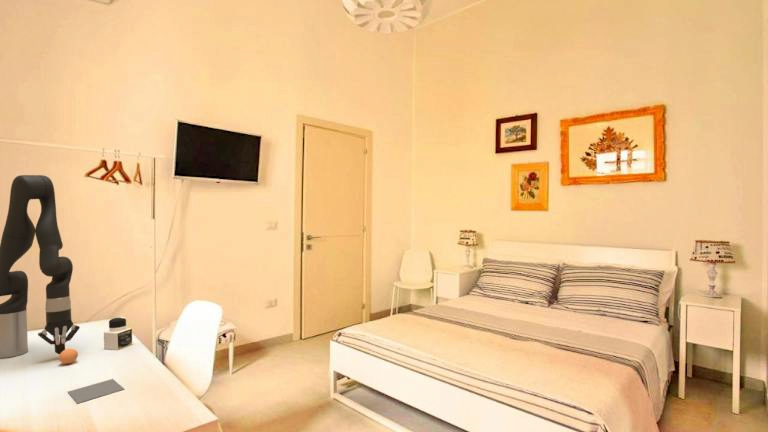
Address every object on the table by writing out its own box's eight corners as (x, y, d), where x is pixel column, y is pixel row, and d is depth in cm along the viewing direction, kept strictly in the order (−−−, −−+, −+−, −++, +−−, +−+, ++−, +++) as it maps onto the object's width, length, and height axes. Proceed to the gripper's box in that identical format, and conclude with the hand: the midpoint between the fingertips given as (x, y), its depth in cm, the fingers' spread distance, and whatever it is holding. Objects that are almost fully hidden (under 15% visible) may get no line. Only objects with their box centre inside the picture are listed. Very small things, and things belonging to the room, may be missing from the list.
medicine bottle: (118, 350, 161) (117, 320, 161) (103, 349, 163) (102, 320, 163) (132, 344, 168) (131, 316, 168) (118, 343, 170) (117, 315, 170)
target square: (67, 392, 123) (67, 391, 123) (112, 379, 132) (112, 378, 132) (77, 403, 116) (77, 403, 116) (124, 389, 125) (124, 388, 125)
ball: (55, 365, 146) (55, 350, 146) (72, 359, 151) (72, 345, 151) (64, 367, 144) (63, 352, 144) (81, 361, 149) (80, 347, 149)
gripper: (38, 313, 145) (40, 360, 145) (82, 306, 156) (84, 350, 156) (33, 311, 150) (35, 356, 150) (76, 304, 160) (78, 346, 160)
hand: (60, 353), depth 153 cm, fingers closed
